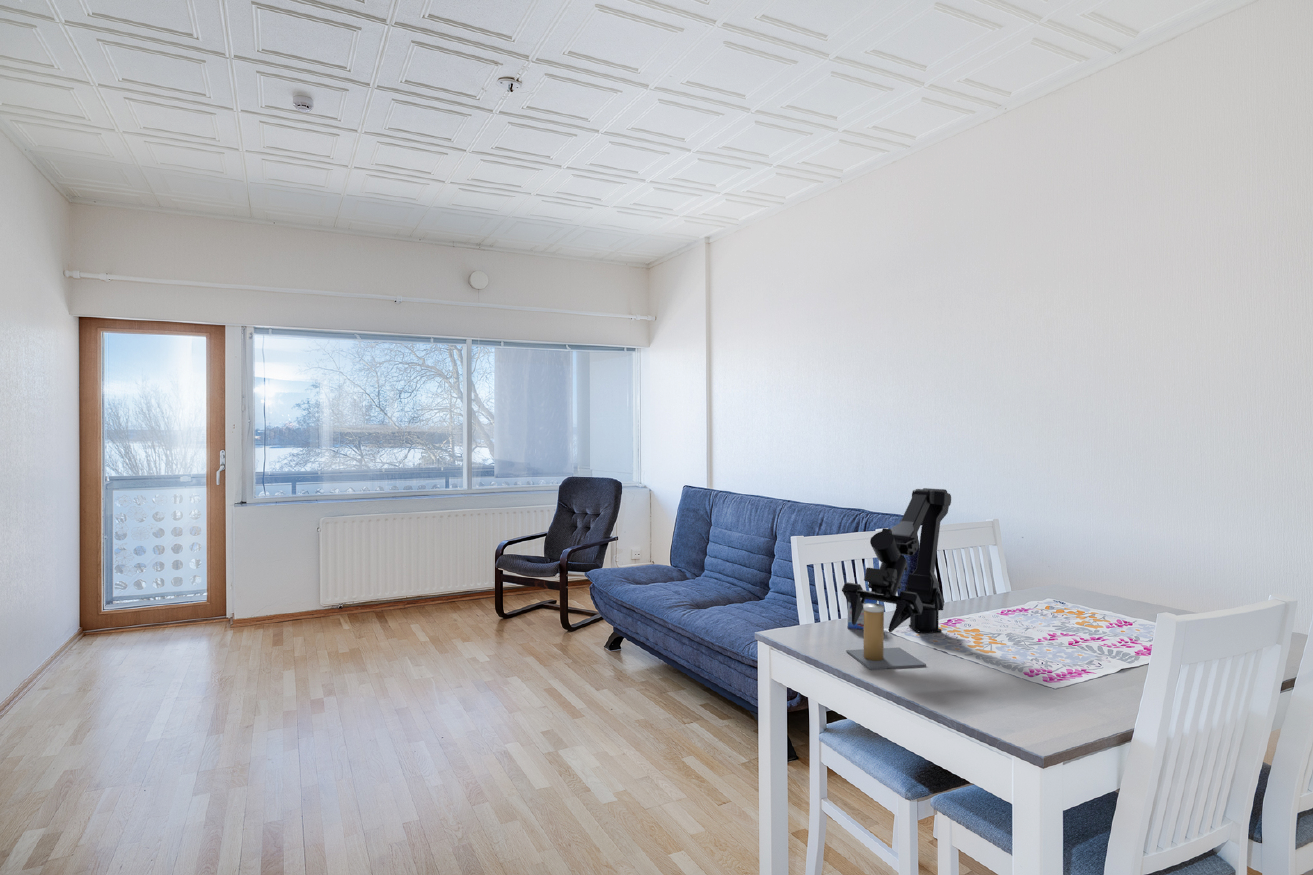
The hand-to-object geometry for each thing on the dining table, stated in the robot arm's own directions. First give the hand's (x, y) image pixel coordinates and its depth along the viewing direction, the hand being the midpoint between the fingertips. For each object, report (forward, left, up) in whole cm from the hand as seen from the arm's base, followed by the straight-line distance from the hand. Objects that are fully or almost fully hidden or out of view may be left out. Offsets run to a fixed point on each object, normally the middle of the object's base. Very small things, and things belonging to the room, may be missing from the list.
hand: (871, 627), depth 172 cm
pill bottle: (-1, -1, -8) cm, 8 cm away
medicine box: (-11, -27, -8) cm, 31 cm away
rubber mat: (-4, -1, -8) cm, 9 cm away
